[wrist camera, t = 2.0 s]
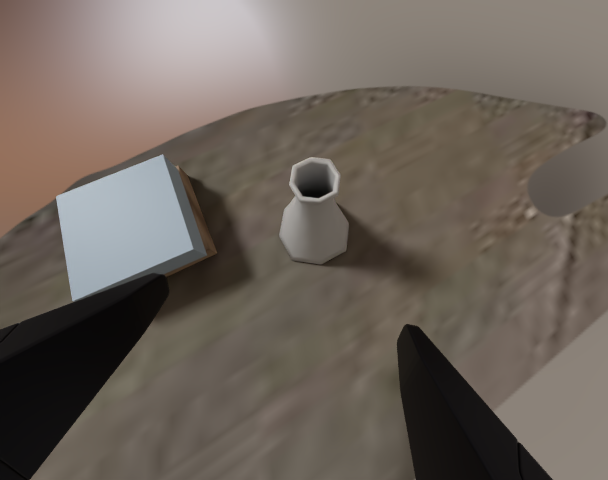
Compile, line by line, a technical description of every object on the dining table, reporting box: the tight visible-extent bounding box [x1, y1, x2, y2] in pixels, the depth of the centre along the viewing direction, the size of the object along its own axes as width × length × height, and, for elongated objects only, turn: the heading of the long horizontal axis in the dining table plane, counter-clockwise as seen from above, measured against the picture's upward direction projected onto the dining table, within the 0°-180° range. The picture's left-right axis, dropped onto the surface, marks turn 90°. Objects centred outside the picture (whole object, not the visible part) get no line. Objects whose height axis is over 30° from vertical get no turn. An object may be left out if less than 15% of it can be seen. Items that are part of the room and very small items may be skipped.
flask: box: [279, 157, 349, 264], centre depth 19 cm, size 7×7×10 cm
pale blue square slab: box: [56, 155, 207, 301], centre depth 21 cm, size 10×10×2 cm
